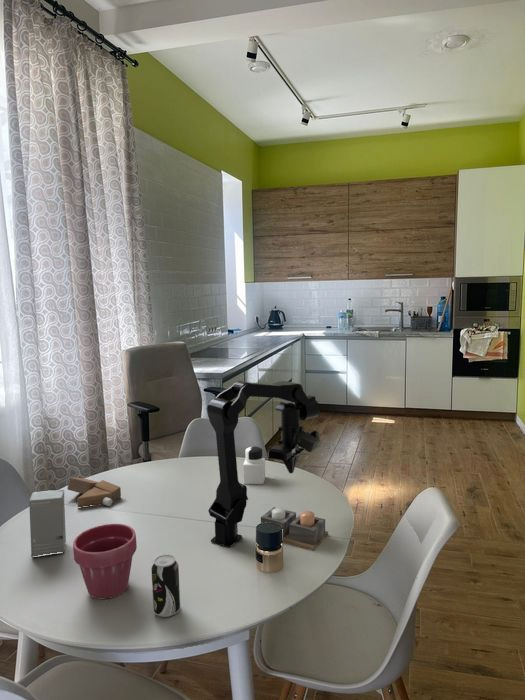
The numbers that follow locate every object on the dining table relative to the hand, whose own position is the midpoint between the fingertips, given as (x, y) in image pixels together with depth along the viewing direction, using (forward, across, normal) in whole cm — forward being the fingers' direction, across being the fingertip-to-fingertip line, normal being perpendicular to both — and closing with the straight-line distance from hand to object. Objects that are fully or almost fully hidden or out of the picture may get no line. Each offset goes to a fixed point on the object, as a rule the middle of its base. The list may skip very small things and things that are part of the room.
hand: (291, 472), depth 159 cm
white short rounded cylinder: (+11, -13, -2) cm, 17 cm away
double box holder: (+12, -13, -7) cm, 19 cm away
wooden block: (+13, -23, +62) cm, 68 cm away
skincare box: (+13, -51, +47) cm, 71 cm away
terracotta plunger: (+10, -13, -11) cm, 20 cm away
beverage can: (+13, -56, +2) cm, 57 cm away
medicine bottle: (+13, +16, +23) cm, 31 cm away
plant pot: (+13, -56, +20) cm, 61 cm away
